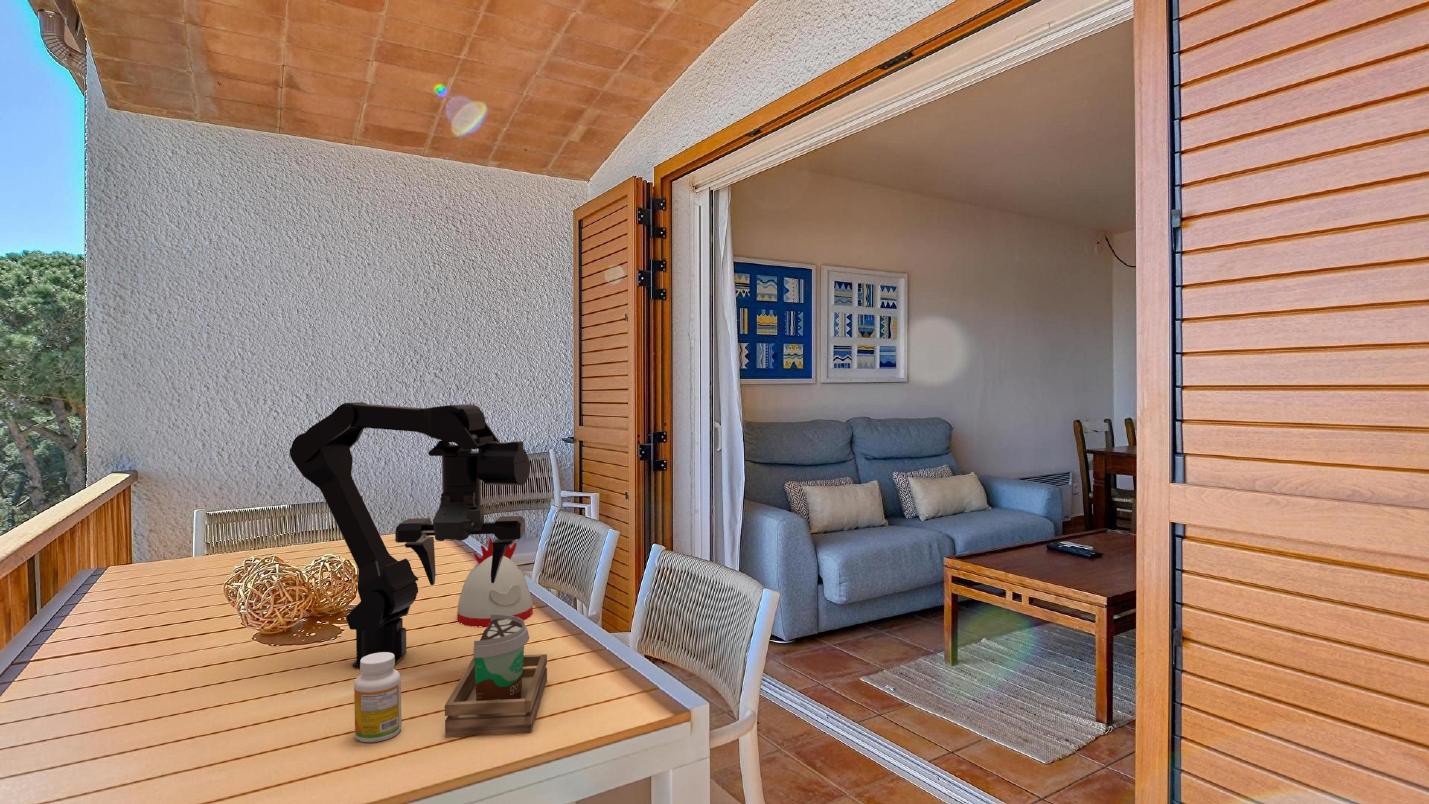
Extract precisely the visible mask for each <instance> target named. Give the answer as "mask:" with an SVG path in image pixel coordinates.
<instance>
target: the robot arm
mask: <svg viewBox="0 0 1429 804" xmlns="http://www.w3.org/2000/svg"><path fill="white" fill-rule="evenodd" d="M365 429H375V430H377V429H378V430H389V431H390V430H391V431H399V432H400V431H402V432H414V433H415V432H416V433H418V434H419V433H420V434H421V435H422V434H423V435H425V436H426V437H427V436H428V437H429V438H431V439H435V440H439V441H438V442H437V444H436V445H435V446H433V448H432V449H430V450H429V451H428V452H427V454H428V456H430V457H441V476H442V477H441V481H442V485H441V486H442V489H441V490H442V491H441V492H442V493H441V494H440V504H439V507H438V509H437V511H436V512H435V515H434V516H433V518H432V520H431V518H430V517H423V518H422V517H421V518H419V517H418V518H414V517H413V518H407V519H405V520H403V521H401V522H400V523H399V524H397V526H396V527H395V531H394V533H395V534H394V535H395V537H394V538H395V539H394V540H395V543H398V544H399V543H401V544H402V543H404V547H405V548H406V549H409V548H410V549H411V550H412V551H414V553H415V554H416V555H417V557H418V558H419V560H420V562H421V565H422V567H423V570H424V572H425V575H426V577H427V579H428V580H427V581H428V582H429V584H430V586H434V585H435V583H436V575H437V573H436V557H435V556H436V555H435V540H436V541H437V542H445V541H447V540H449V541H450V540H455V541H464V540H467V539H469V537H470V535H494V536H495V537H496V538H495V539H494V540H492V545H493V556H492V566H491V583H494V582H495V580H496V577H497V573H498V570H499V567H500V564H501V561H502V558H503V555H504V553H505V551H506V549H507V547H508V545H510V546H511V545H513V544H514V543H515V541H517V540H521V539H522V537H524V535H525V534H526V520H525V518H524V517H523V516H522V515H510V516H509V515H507V516H506V515H505V516H504V515H503V516H502V515H501V516H499V517H498V518H497V519H496V520H495V521H485V514H484V510H483V506H482V487H481V486H482V485H481V483H482V481H483V483H484V484H485V485H487V486H524V485H526V483H527V482H528V480H529V476H530V471H531V462H530V460H529V456H528V453H527V451H526V450H525V448H524V442H523V441H522V440H517V441H509V442H501V441H500V440H499V439H498V438H497V436H496V435H495V433H494V432H493V430H492V429H491V428H490V426H489V425H488V423H487V422H486V417H485V414H484V412H483V411H482V410H481V408H480V407H479V406H478V405H475V404H471V403H470V404H465V403H464V404H451V405H447V404H446V405H440V406H432V407H425V408H423V407H410V406H400V405H399V406H397V405H395V406H394V405H383V404H369V403H366V402H362V401H361V402H359V401H358V402H343V403H342V404H340V405H338V406H337V407H336V408H335V409H334V410H333V411H332V412H331V413H330V414H329V415H327V416H326V417H325V418H323V419H321V420H319V421H318V422H317V423H315V424H313V425H312V426H311V427H309V428H308V429H307V430H306V431H305V432H303V433H300V434H298V435H297V436H296V437H295V438H294V439H293V440H292V444H291V447H290V448H289V455H290V459H291V462H292V463H293V464H294V466H295V467H296V468H297V469H298V471H299V473H300V474H301V475H302V476H303V478H305V479H306V480H308V481H309V482H310V483H311V484H313V485H314V486H315V487H316V488H318V489H319V491H320V492H321V494H322V496H323V498H324V500H325V502H326V504H327V507H328V509H329V511H330V512H331V515H332V517H333V519H334V521H335V523H336V525H337V528H338V529H339V531H340V532H339V533H341V536H342V538H343V540H344V542H345V544H346V546H347V547H348V550H349V553H350V554H351V557H352V558H353V560H354V562H355V564H356V566H357V571H358V575H357V583H356V586H357V587H356V589H357V593H358V597H359V599H360V602H358V603H357V605H356V606H355V607H353V608H352V610H351V611H350V612H349V613H348V614H347V615H346V616H345V618H346V622H347V623H348V627H349V628H348V629H349V630H350V631H351V630H355V637H356V638H355V640H356V641H355V642H356V643H355V645H356V646H355V647H356V648H355V649H356V651H355V652H356V660H355V661H354V662H352V664H351V665H352V668H360V660H361V659H362V658H363V657H365V656H367V655H370V654H374V653H380V652H389V653H393V654H394V656H395V666H396V665H397V664H398V662H399V661H400V660H401V659H402V658H403V657H404V655H406V653H407V628H406V627H403V625H404V624H403V617H404V616H407V615H408V614H409V611H410V608H411V606H412V605H413V603H414V602H415V601H416V600H417V599H416V598H417V596H418V593H419V587H418V582H417V581H419V577H417V576H416V575H415V573H414V572H413V569H412V567H411V563H410V561H409V560H408V558H403V559H401V560H398V559H396V558H395V557H394V556H392V555H391V554H390V553H389V550H387V547H386V545H385V543H384V541H383V539H382V537H381V534H380V532H379V530H378V528H377V526H376V525H375V523H374V520H373V517H372V516H371V514H370V512H369V510H368V508H367V506H366V503H365V502H364V500H363V498H362V495H361V493H360V491H359V489H358V487H357V485H356V483H355V481H354V479H353V476H352V473H353V460H354V459H353V454H352V451H351V449H352V447H353V446H355V444H356V443H358V441H359V440H360V437H361V436H362V433H363V432H364V430H365ZM452 443H454V444H452ZM476 450H478V451H476Z"/></svg>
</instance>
